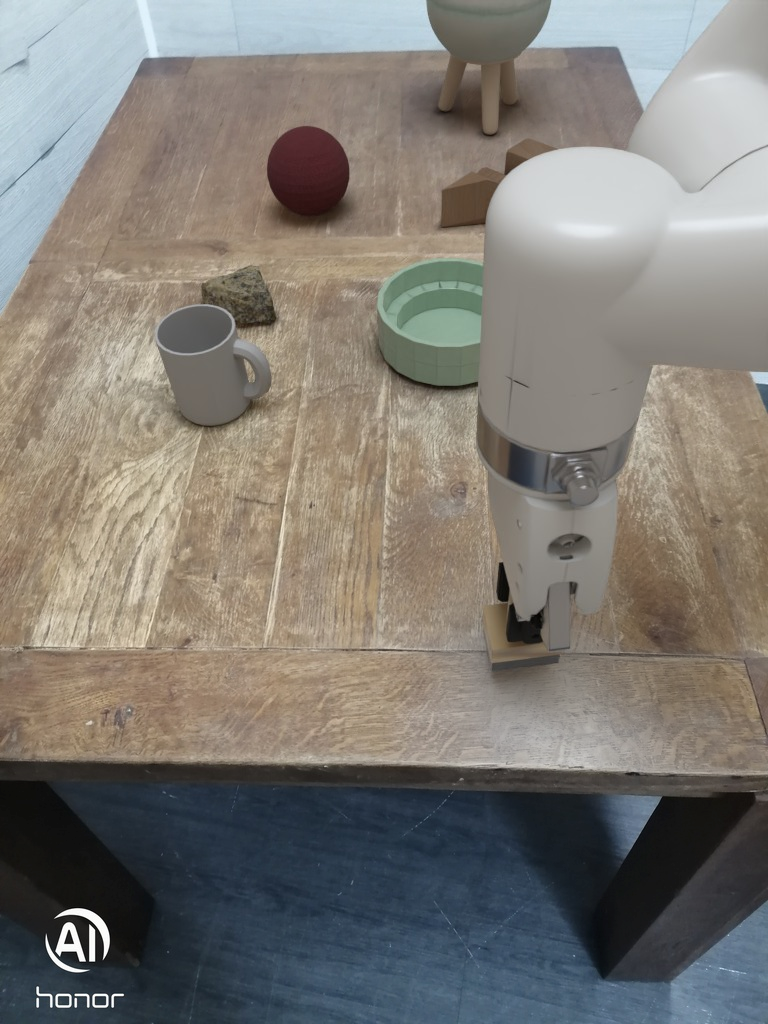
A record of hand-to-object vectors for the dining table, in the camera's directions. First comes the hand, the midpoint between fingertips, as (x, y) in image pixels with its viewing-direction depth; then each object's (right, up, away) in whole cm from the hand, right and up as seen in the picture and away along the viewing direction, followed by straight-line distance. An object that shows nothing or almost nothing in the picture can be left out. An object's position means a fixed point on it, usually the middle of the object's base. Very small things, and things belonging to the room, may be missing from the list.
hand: (524, 614), depth 52 cm
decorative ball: (-18, +45, +45) cm, 66 cm away
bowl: (-3, +24, +28) cm, 37 cm away
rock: (-25, +30, +34) cm, 51 cm away
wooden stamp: (0, -3, +4) cm, 5 cm away
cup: (-25, +17, +24) cm, 39 cm away
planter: (+5, +64, +59) cm, 88 cm away
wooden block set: (+9, +42, +42) cm, 60 cm away
